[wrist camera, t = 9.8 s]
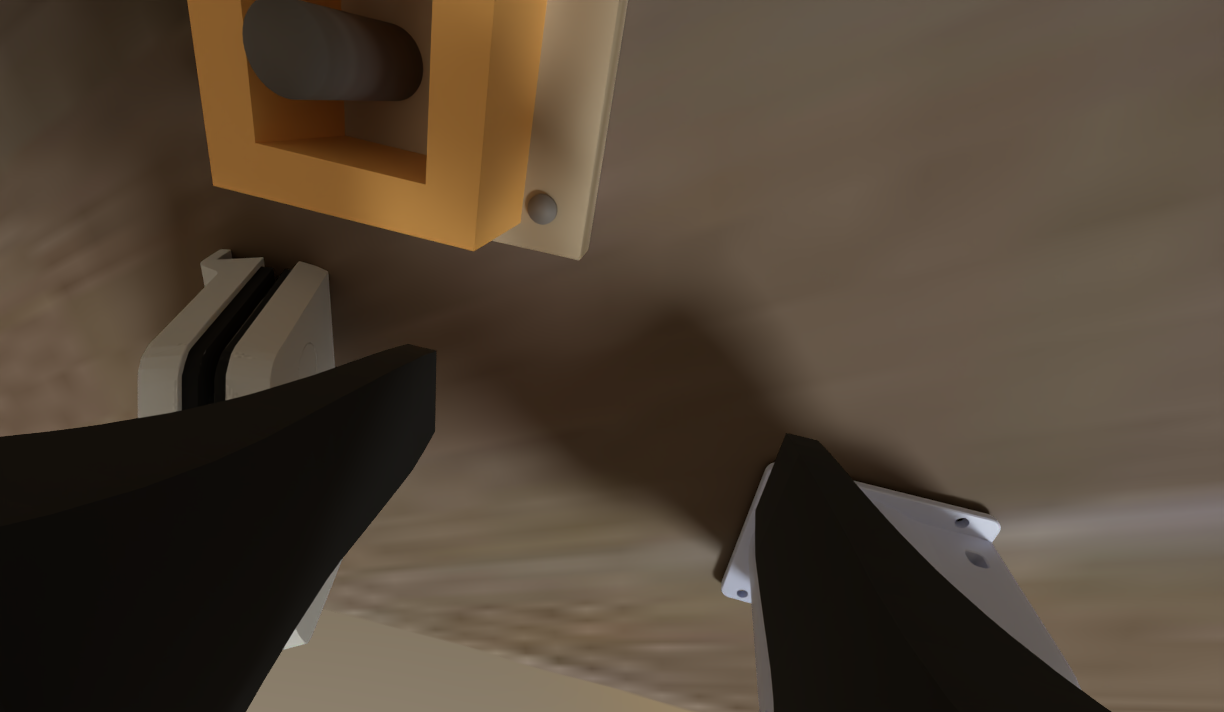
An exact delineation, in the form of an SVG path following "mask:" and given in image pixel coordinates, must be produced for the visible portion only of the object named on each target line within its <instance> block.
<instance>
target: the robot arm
mask: <svg viewBox="0 0 1224 712" xmlns="http://www.w3.org/2000/svg"><path fill="white" fill-rule="evenodd" d="M435 397H436V351H435V350H431V349H427V348H422V347H418V346H414V345H410V344H407V345H403V346H399V347H395V348H392V349H388V350H385V351H382V352H379V353H376V354H373V355H370V356H367V357H364V358H362V359H359V360H356V361H353V362H350V363H347V364H344V365H341V366H338V367H335V368H332V369H329V370H327V371H324V372H321V373H318V374H315V375H312V376H309V377H305V378H302V379H299V380H295V381H292V382H289V383H286V384H282V385H279V386H276V387H272V388H269V389H266V390H263V391H259V392H256V393H252V394H249V395H245V396H241V397H237V398H233V399H229V400H225V401H221V402H217V403H213V404H208V405H204V406H199V407H195V408H191V409H186V410H181V411H176V412H171V413H166V414H160V415H154V416H148V417H142V418H136V419H131V420H125V421H119V422H113V423H107V424H102V425H95V426H88V427H81V428H73V429H65V430H57V431H50V432H41V433H31V434H22V435H13V436H4V437H0V712H246V711H247V709H248V707H249V705H250V704H251V702H252V700H253V698H254V697H255V695H256V693H257V692H258V690H259V688H260V686H261V685H262V683H263V681H264V679H265V678H266V676H267V674H268V673H269V671H270V669H271V668H272V666H273V665H274V663H275V661H276V660H277V658H278V656H279V655H280V653H281V652H282V650H283V648H284V647H285V645H286V643H287V642H288V640H289V639H290V637H291V635H292V634H293V632H294V630H295V629H296V627H297V625H298V624H299V622H300V621H301V619H302V618H303V616H304V615H305V613H306V612H307V610H308V608H309V607H310V605H311V604H312V602H313V601H314V599H315V598H316V596H317V595H318V593H319V591H320V590H321V588H322V587H323V585H324V584H325V582H326V581H327V579H328V578H329V576H330V575H331V574H332V572H333V571H334V569H335V568H336V567H337V565H338V564H339V563H340V561H341V560H342V559H343V557H344V556H345V555H346V553H347V552H348V551H349V550H350V548H351V547H352V546H353V545H354V543H355V542H356V541H357V540H358V538H359V537H360V536H361V535H362V533H363V532H364V531H365V530H366V528H367V527H368V526H369V525H370V523H371V522H372V521H373V520H374V518H375V517H376V516H377V515H378V513H379V512H380V511H381V510H382V508H383V507H384V506H385V505H386V503H387V502H388V501H389V500H390V498H391V497H392V496H393V494H394V493H395V492H396V491H397V489H398V488H399V487H400V486H401V484H402V483H403V482H404V480H405V479H406V478H407V477H408V475H409V474H410V473H411V471H412V470H413V468H414V467H415V465H416V463H417V462H418V460H419V458H420V457H421V455H422V453H423V452H424V450H425V448H426V446H427V445H428V443H429V441H430V439H431V438H432V436H433V434H434V432H435ZM960 518H964V519H963V520H961V521H956V520H957V519H960ZM1000 529H1001V526H1000V524H999V522H998V521H997V519H996V518H995V517H994V516H992V515H990V514H986V513H982V512H978V511H974V510H970V509H966V508H962V507H958V506H954V505H950V504H946V503H942V502H938V501H934V500H930V499H926V498H922V497H918V496H914V495H910V494H906V493H902V492H898V491H894V490H890V489H886V488H882V487H878V486H874V485H870V484H866V483H862V482H858V481H853V480H852V479H851V477H850V476H849V475H848V474H847V473H846V472H845V470H844V469H843V468H842V467H841V466H840V465H839V463H838V462H837V461H836V460H835V459H834V458H833V456H832V455H831V454H830V453H829V452H828V451H827V450H826V449H825V448H824V447H823V446H822V445H821V444H820V443H819V442H818V441H817V440H813V439H809V438H804V437H800V436H796V435H792V434H787V433H786V435H785V438H784V440H783V443H782V445H781V448H780V450H779V453H778V455H777V458H776V460H775V462H774V463H771V464H769V465H768V466H767V467H766V469H765V471H764V474H763V476H762V479H761V482H760V484H759V487H758V489H757V492H756V494H755V497H754V500H753V502H752V505H751V507H750V510H749V512H748V515H747V518H746V520H745V523H744V525H743V528H742V530H741V533H740V536H739V538H738V541H737V543H736V546H735V548H734V551H733V554H732V556H731V559H730V561H729V564H728V566H727V569H726V572H725V574H724V577H723V579H722V582H721V591H722V593H723V594H724V595H725V596H728V597H730V598H734V599H738V600H741V601H745V602H749V603H752V617H753V631H754V644H755V658H756V671H757V685H758V698H759V712H1111V711H1110V710H1108V709H1107V708H1105V707H1104V706H1102V705H1101V704H1100V703H1098V702H1097V701H1095V700H1094V699H1093V698H1091V697H1090V696H1089V695H1087V694H1086V693H1085V692H1083V691H1082V690H1081V688H1080V686H1079V684H1078V681H1077V679H1076V677H1075V675H1074V673H1073V671H1072V669H1071V668H1070V666H1069V664H1068V662H1067V661H1066V659H1065V658H1064V656H1063V654H1062V653H1061V651H1060V650H1059V648H1058V647H1057V645H1056V643H1055V642H1054V640H1053V639H1052V637H1051V635H1050V634H1049V632H1048V631H1047V629H1046V628H1045V626H1044V624H1043V623H1042V621H1041V620H1040V618H1039V617H1038V615H1037V613H1036V612H1035V610H1034V609H1033V607H1032V605H1031V604H1030V602H1029V601H1028V599H1027V598H1026V596H1025V594H1024V593H1023V591H1022V590H1021V588H1020V587H1019V585H1018V583H1017V582H1016V580H1015V579H1014V577H1013V575H1012V574H1011V572H1010V571H1009V569H1008V568H1007V566H1006V564H1005V563H1004V561H1003V560H1002V558H1001V556H1000V555H999V553H998V552H997V550H996V549H995V547H994V545H993V544H992V542H993V540H994V539H995V537H996V536H997V535H998V533H999V532H1000ZM740 590H744V591H740Z"/></svg>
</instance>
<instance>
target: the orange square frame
mask: <svg viewBox="0 0 1224 712" xmlns="http://www.w3.org/2000/svg"><path fill="white" fill-rule="evenodd" d="M254 1H256V0H187V2H188V9H189V16H190V23H191V30H192V38H193V45H194V52H195V59H196V66H197V73H198V80H199V87H200V95H201V102H202V109H203V116H204V123H205V130H206V137H207V144H208V151H209V159H210V166H211V173H212V180H213V186H217V187H221V188H225V189H229V190H233V191H237V192H241V193H245V194H248V195H252V196H256V197H260V198H264V199H268V200H272V201H276V202H280V203H284V204H288V205H292V206H296V207H300V208H304V209H308V210H312V211H316V212H320V213H324V214H328V215H332V216H336V217H340V218H344V219H348V220H352V221H356V222H360V223H364V224H367V225H371V226H375V227H379V228H383V229H387V230H391V231H395V232H399V233H403V234H407V235H411V236H415V237H419V238H423V239H427V240H431V241H435V242H439V243H443V244H447V245H451V246H455V247H459V248H463V249H467V250H471V251H475V250H477V249H479V248H480V247H482V246H484V245H485V244H487V243H488V242H490V241H492V240H493V239H495V238H497V237H498V236H500V235H502V234H503V233H505V232H507V231H508V230H510V229H511V228H513V227H515V226H516V225H518V224H520V223H521V214H522V206H523V198H524V189H525V181H526V173H527V164H528V156H529V148H530V139H531V131H532V123H533V114H534V106H535V98H536V89H537V81H538V73H539V64H540V56H541V48H542V39H543V31H544V23H545V15H546V6H547V0H432V27H431V54H430V81H429V108H428V135H427V155H424V154H420V153H416V152H411V151H407V150H403V149H399V148H395V147H391V146H386V145H382V144H378V143H374V142H370V141H366V140H362V139H357V138H353V137H349V136H345V116H344V100H292V99H287V98H284V97H281V96H279V95H277V94H276V93H274V92H273V91H271V90H270V89H269V88H267V87H266V86H265V85H264V84H263V83H262V82H261V80H260V79H259V78H258V77H257V75H256V74H255V72H254V71H253V69H252V67H251V65H250V63H249V61H248V58H247V56H246V53H245V49H244V44H243V35H242V32H243V22H244V18H245V15H246V13H247V11H248V9H249V7H250V6H251V5H252V4H253V3H254ZM301 1H305V2H309V3H313V4H317V5H321V6H325V7H329V8H333V9H337V10H341V0H301Z"/></svg>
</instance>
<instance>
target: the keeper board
mask: <svg viewBox="0 0 1224 712" xmlns="http://www.w3.org/2000/svg"><path fill="white" fill-rule="evenodd" d="M627 4H628V0H547V6H546V15H545V23H544V31H543V39H542V48H541V56H540V64H539V73H538V81H537V89H536V98H535V106H534V114H533V123H532V131H531V139H530V148H529V156H528V164H527V173H526V181H525V189H524V198H523V206H522V214H521V223H520V224H518V225H516V226H515V227H513V228H511V229H510V230H508V231H507V232H505V233H503V234H502V235H500V236H498V237H497V238H495V239H493V240H492V241H496V242H500V243H505V244H509V245H514V246H518V247H522V248H527V249H531V250H536V251H540V252H545V253H549V254H553V255H558V256H562V257H567V258H571V259H576V260H580V259H581V258H582V257H583V256H584V254H585V253H586V252H587V251H588V249H589V243H590V236H591V230H592V224H593V218H594V211H595V205H596V199H597V192H598V186H599V180H600V174H601V167H602V161H603V155H604V148H605V142H606V136H607V130H608V123H609V117H610V111H611V104H612V98H613V92H614V86H615V79H616V73H617V67H618V60H619V54H620V48H621V41H622V35H623V29H624V23H625V16H626V10H627ZM431 27H432V0H341V10H337V9H333V8H329V7H325V6H321V5H317V4H313V3H309V2H305V1H301V0H256V1H254V3H253V4H252V5H251V6H250V7H249V9H248V11H247V13H246V15H245V18H244V22H243V32H242V35H243V44H244V49H245V53H246V56H247V58H248V61H249V63H250V65H251V67H252V69H253V71H254V72H255V74H256V75H257V77H258V78H259V79H260V80H261V82H262V83H263V84H264V85H265V86H266V87H267V88H269V89H270V90H271V91H273V92H274V93H276V94H277V95H279V96H281V97H284V98H287V99H292V100H344V116H345V136H349V137H353V138H357V139H362V140H366V141H370V142H374V143H378V144H382V145H386V146H391V147H395V148H399V149H403V150H407V151H411V152H416V153H420V154H424V155H427V135H428V108H429V81H430V54H431Z"/></svg>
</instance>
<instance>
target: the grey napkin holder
mask: <svg viewBox="0 0 1224 712" xmlns="http://www.w3.org/2000/svg"><path fill="white" fill-rule="evenodd" d="M200 264H201V270H202V275H203V281H204V286H205V287H204V288H203V289H202V290H201V291H200V292H199V293H198V294H197V295H196V297H195V298H194V299H193V300H192V301H191V302H190V303H189V304H188V305H187V306H186V307H185V308H184V309H183V310H182V311H181V312H180V313H179V314H178V315H177V316H176V317H175V318H174V319H173V320H172V321H171V322H170V323H169V324H168V325H167V326H166V327H165V328H164V329H163V330H162V331H161V332H160V333H159V334H158V335H157V336H156V337H155V338H154V340H153V341H152V342H151V343H150V344H149V345H148V346H147V348H146V350H145V352H144V354H143V355H142V357H141V361H140V366H139V371H138V418H142V417H148V416H154V415H160V414H166V413H171V412H176V411H181V410H186V409H191V408H195V407H199V406H204V405H208V404H213V403H217V402H221V401H225V400H229V399H233V398H237V397H241V396H245V395H249V394H252V393H256V392H259V391H263V390H266V389H269V388H272V387H276V386H279V385H282V384H286V383H289V382H292V381H295V380H299V379H302V378H305V377H309V376H312V375H315V374H318V373H321V372H324V371H327V370H329V369H332V368H335V359H334V345H333V331H332V317H331V302H330V288H329V274H328V271H326V270H324V269H322V268H320V267H318V266H314V265H311V264H308V263H304V262H301V261H298V263H297V264H296V265H295V267H294V268H293V269H292V270H291V269H285V270H284V272H283V273H282V274H281V276H280V277H279V278H278V280H277V281H276V282H275V279H274V271H273V268H271V267H265V265H264V258H263V257H259V258H240V259H232V253H231V250H228V249H220V250H218V251H217V252H215V253H213V254H212V255H210V256H209V257H207V258H205V259H204V260H203V261H202V262H201V263H200ZM341 561H342V560H341ZM341 561H340V563H339V564H338V565H337V567H336V568H335V569H334V571H333V572H332V574H331V575H330V576H329V578H328V579H327V581H326V582H325V584H324V585H323V587H322V588H321V590H320V591H319V593H318V595H317V596H316V598H315V599H314V601H313V602H312V604H311V605H310V607H309V608H308V610H307V612H306V613H305V615H304V616H303V618H302V619H301V621H300V622H299V624H298V625H297V627H296V629H295V630H294V632H293V634H292V635H291V637H290V639H289V640H288V642H287V643H286V645H285V647H284V648H283V649H287V648H291V647H295V646H299V645H303V644H307V643H308V642H309V641H310V639H311V637H312V635H313V632H314V629H315V627H316V624H317V621H318V619H319V617H320V614H321V611H322V609H323V607H324V604H325V602H326V599H327V597H328V594H329V591H330V589H331V586H332V584H333V581H334V579H335V576H336V574H337V571H338V569H339V566H340V564H341Z"/></svg>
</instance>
